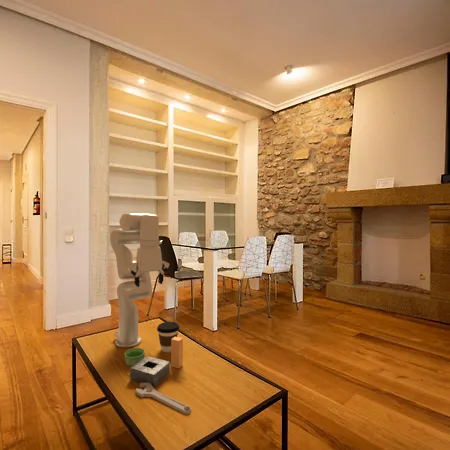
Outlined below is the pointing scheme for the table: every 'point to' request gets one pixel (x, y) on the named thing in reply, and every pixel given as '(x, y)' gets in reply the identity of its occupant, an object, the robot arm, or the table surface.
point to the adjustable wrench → (162, 398)
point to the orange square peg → (177, 352)
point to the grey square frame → (150, 371)
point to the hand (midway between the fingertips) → (149, 284)
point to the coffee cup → (167, 334)
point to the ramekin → (134, 356)
